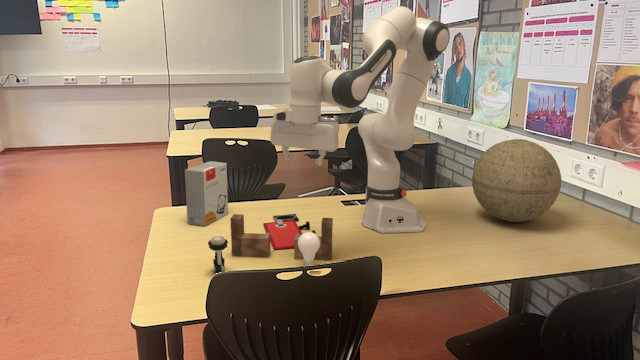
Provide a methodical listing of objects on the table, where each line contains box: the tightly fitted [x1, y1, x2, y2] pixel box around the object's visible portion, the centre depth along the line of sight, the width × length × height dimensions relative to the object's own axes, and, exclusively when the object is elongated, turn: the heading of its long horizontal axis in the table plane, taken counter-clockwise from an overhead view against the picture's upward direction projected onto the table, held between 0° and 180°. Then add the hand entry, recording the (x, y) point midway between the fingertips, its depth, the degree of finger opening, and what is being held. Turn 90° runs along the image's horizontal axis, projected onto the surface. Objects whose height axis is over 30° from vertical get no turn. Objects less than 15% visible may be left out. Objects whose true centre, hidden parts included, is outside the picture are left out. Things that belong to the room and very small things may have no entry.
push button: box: [207, 235, 229, 274], centre depth 135 cm, size 7×5×10 cm
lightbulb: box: [298, 231, 320, 267], centre depth 136 cm, size 6×6×11 cm
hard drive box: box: [184, 160, 229, 227], centre depth 174 cm, size 16×8×20 cm, turn 158°
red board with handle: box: [262, 213, 317, 252], centre depth 165 cm, size 30×3×15 cm
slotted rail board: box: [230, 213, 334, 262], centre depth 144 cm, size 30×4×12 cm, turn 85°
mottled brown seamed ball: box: [471, 138, 562, 223], centre depth 175 cm, size 30×30×30 cm
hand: (303, 163), depth 139 cm, fingers open, 8 cm apart
